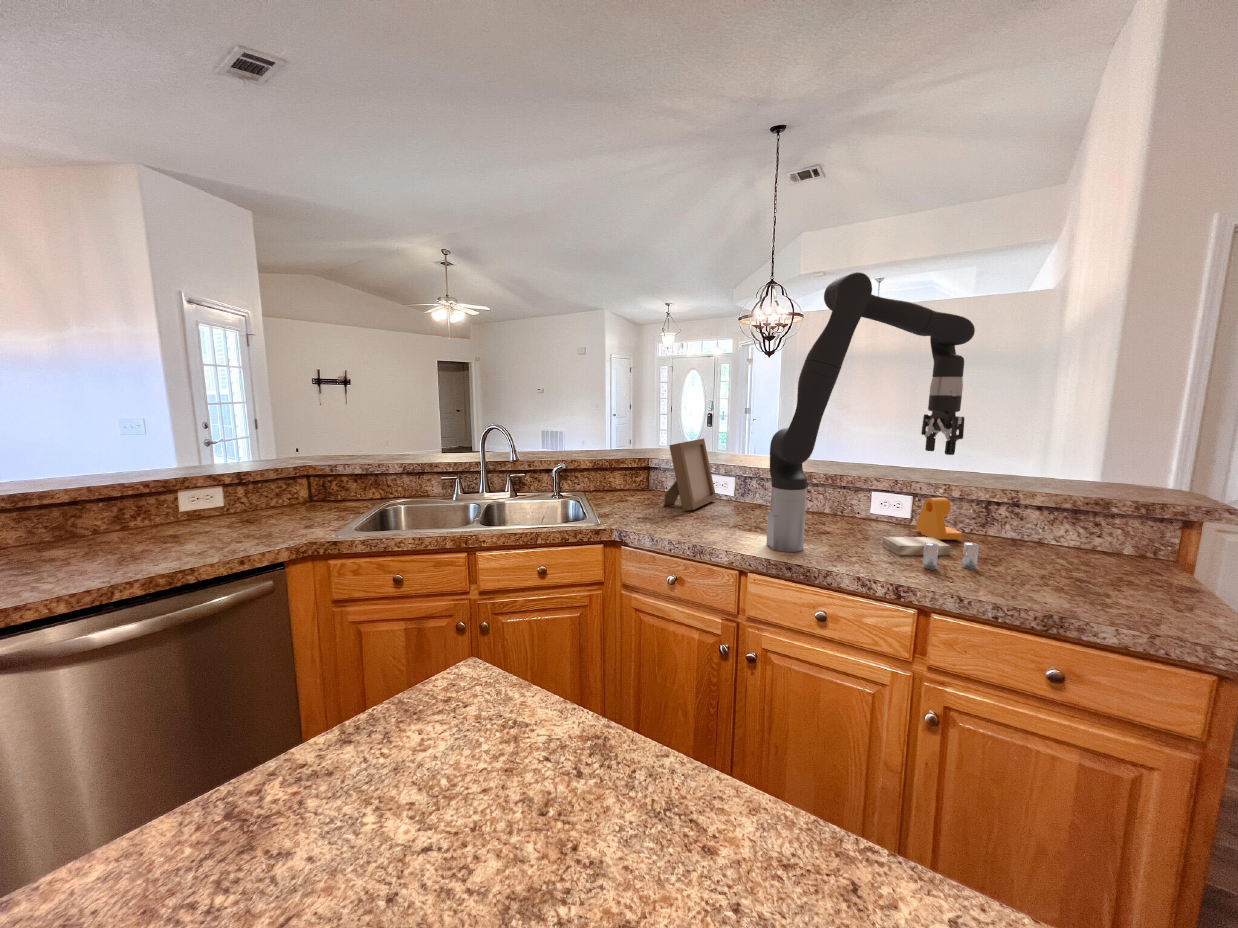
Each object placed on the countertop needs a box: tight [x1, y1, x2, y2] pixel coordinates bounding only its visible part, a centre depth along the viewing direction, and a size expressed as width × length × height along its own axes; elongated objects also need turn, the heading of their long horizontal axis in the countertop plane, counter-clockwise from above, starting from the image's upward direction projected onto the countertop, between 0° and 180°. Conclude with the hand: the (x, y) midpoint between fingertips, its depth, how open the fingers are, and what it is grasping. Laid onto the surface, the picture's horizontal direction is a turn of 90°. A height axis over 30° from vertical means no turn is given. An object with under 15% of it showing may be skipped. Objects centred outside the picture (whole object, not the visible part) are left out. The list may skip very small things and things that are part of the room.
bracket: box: [915, 497, 962, 540], centre depth 152 cm, size 11×7×12 cm, turn 2°
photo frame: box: [663, 438, 717, 512], centre depth 194 cm, size 15×22×25 cm
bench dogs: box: [921, 541, 980, 571], centre depth 125 cm, size 13×3×6 cm, turn 91°
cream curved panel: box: [882, 536, 952, 556], centre depth 139 cm, size 14×8×3 cm, turn 90°
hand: (939, 452), depth 140 cm, fingers open, 8 cm apart
